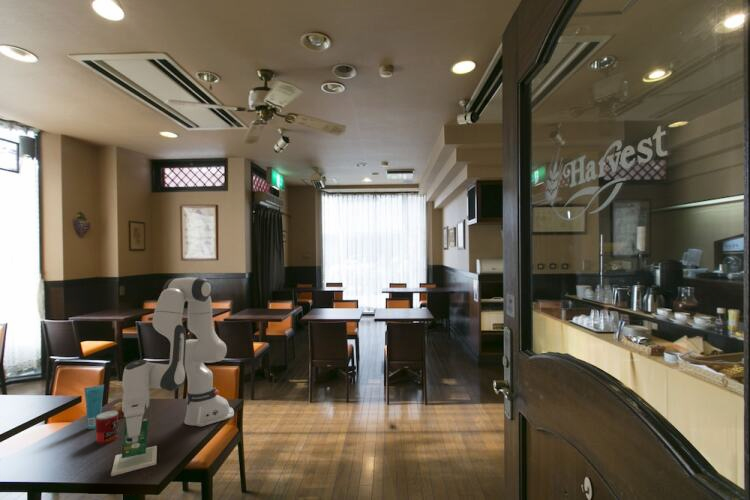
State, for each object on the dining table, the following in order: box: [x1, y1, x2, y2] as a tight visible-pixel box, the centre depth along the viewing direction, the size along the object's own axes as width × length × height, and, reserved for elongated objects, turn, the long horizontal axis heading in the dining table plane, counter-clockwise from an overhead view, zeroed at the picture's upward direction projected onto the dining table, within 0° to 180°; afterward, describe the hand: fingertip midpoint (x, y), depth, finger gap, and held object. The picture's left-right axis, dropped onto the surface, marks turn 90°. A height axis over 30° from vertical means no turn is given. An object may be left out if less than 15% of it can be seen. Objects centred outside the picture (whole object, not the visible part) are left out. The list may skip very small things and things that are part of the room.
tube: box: [83, 384, 105, 430], centre depth 167 cm, size 7×5×19 cm, turn 133°
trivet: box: [110, 445, 158, 477], centre depth 138 cm, size 14×14×1 cm
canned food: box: [95, 410, 119, 445], centre depth 155 cm, size 8×8×11 cm
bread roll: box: [108, 401, 125, 419], centre depth 180 cm, size 10×10×8 cm
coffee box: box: [121, 417, 150, 458], centre depth 138 cm, size 8×3×13 cm, turn 122°
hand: (135, 439), depth 138 cm, fingers closed on coffee box, 3 cm apart
